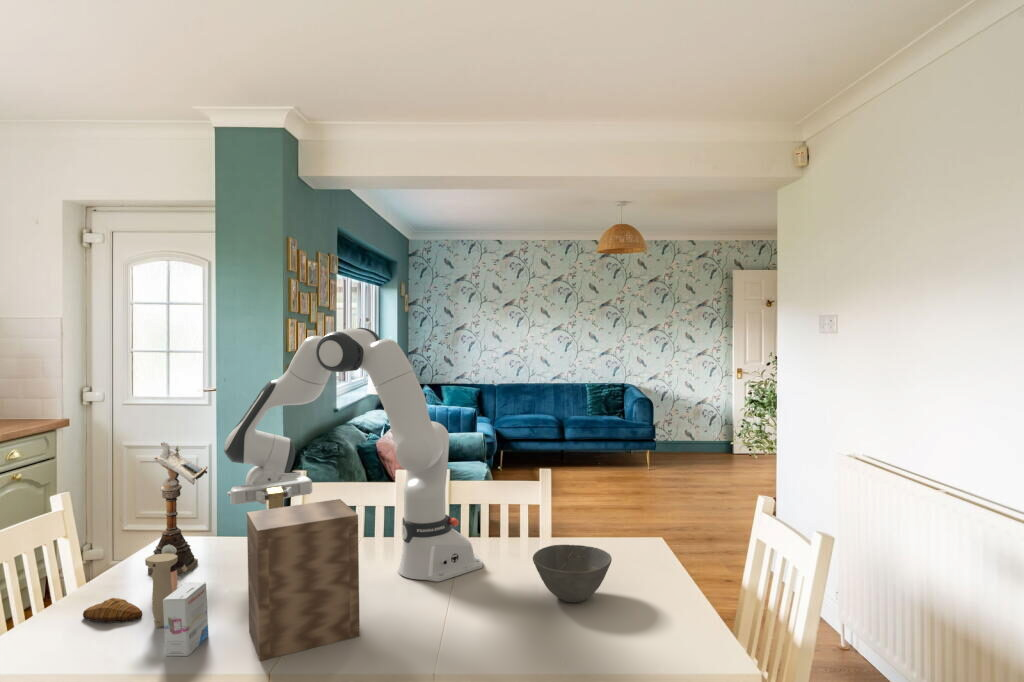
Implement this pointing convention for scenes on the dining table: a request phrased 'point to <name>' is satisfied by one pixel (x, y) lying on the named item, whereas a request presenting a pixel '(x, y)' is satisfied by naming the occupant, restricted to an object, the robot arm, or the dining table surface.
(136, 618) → the croissant
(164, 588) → the handle
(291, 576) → the walnut stand
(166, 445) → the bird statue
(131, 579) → the dining table surface
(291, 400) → the robot arm
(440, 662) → the dining table surface
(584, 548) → the bowl
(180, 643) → the ink box
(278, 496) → the brass bar
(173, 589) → the grandmother figurine
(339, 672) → the dining table surface
